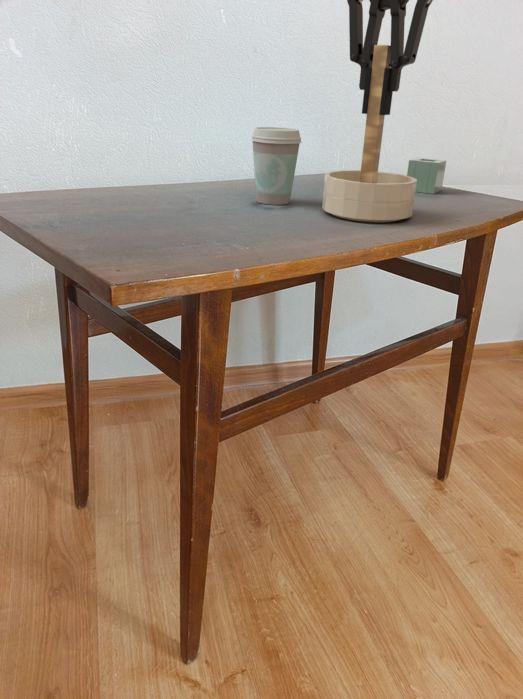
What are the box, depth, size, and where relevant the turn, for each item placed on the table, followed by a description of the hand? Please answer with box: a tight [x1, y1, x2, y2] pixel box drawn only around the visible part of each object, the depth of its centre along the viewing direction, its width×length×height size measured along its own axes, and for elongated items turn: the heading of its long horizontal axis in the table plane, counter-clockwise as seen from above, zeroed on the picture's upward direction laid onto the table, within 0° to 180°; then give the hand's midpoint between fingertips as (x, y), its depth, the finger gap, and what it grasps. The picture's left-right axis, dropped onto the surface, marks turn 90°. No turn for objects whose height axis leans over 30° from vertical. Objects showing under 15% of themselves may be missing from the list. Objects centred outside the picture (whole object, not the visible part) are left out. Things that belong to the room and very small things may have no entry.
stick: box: [360, 44, 391, 183], centre depth 93 cm, size 2×2×22 cm
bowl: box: [321, 169, 417, 223], centre depth 95 cm, size 14×14×6 cm
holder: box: [406, 157, 447, 195], centre depth 121 cm, size 6×6×6 cm
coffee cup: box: [250, 126, 302, 206], centre depth 101 cm, size 8×8×12 cm
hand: (375, 113), depth 92 cm, fingers closed on stick, 2 cm apart
